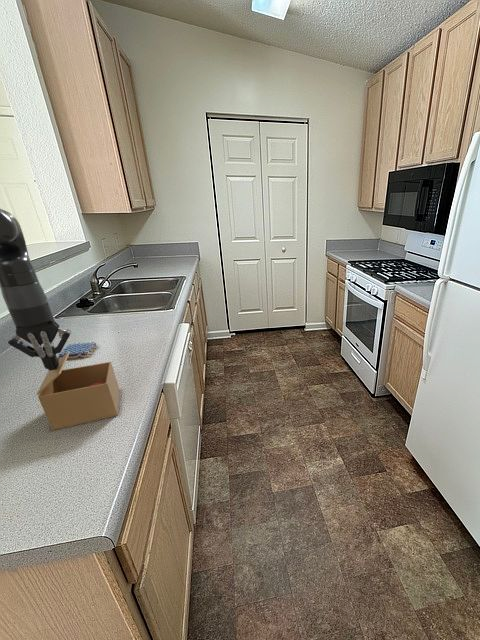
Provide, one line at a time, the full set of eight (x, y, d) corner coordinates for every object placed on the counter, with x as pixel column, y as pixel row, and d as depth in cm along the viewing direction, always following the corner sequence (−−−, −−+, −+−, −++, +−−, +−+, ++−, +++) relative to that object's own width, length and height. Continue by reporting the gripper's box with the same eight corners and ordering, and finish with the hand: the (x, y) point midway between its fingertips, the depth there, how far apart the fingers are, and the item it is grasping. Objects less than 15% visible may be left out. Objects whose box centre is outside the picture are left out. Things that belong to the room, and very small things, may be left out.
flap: (38, 395, 79) (36, 394, 79) (50, 370, 90) (49, 369, 90) (60, 374, 79) (58, 373, 79) (70, 352, 90) (68, 351, 90)
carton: (52, 430, 84) (37, 397, 79) (62, 402, 95) (50, 372, 90) (117, 415, 89) (107, 383, 84) (119, 390, 100) (111, 361, 96)
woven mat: (57, 360, 120) (55, 355, 119) (69, 348, 129) (67, 343, 128) (89, 357, 121) (87, 352, 120) (98, 346, 131) (97, 341, 130)
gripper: (-15, 311, 71) (17, 381, 79) (57, 303, 76) (81, 370, 83) (-3, 302, 77) (26, 368, 85) (63, 295, 82) (85, 358, 90)
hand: (53, 368), depth 84 cm, fingers closed
